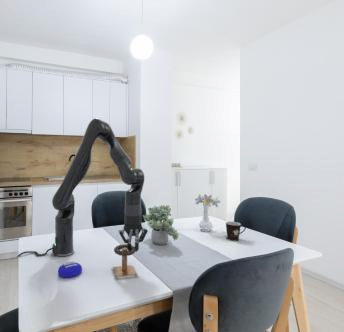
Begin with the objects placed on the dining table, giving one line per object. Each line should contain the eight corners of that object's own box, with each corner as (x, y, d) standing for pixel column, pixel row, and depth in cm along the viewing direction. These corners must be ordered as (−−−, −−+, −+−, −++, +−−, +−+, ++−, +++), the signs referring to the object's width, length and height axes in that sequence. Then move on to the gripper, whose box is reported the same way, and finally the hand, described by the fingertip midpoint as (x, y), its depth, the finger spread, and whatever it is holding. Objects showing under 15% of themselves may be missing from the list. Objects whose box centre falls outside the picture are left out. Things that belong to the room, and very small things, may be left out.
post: (116, 279, 104) (116, 253, 103) (113, 269, 113) (112, 245, 112) (136, 277, 106) (137, 251, 105) (131, 267, 114) (131, 244, 114)
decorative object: (78, 254, 113) (84, 266, 104) (79, 265, 114) (84, 278, 105) (55, 259, 109) (59, 271, 100) (56, 270, 110) (59, 284, 101)
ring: (116, 257, 103) (116, 252, 103) (112, 249, 112) (112, 244, 112) (138, 255, 105) (138, 250, 105) (132, 247, 114) (132, 242, 114)
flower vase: (222, 230, 171) (222, 194, 169) (204, 234, 161) (205, 197, 159) (206, 225, 181) (207, 192, 180) (189, 229, 171) (190, 194, 170)
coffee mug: (225, 240, 150) (225, 224, 150) (225, 236, 158) (225, 220, 158) (246, 243, 146) (247, 226, 145) (245, 238, 154) (245, 222, 153)
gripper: (145, 210, 114) (145, 247, 115) (116, 212, 111) (116, 249, 112) (150, 214, 106) (150, 253, 107) (119, 216, 103) (119, 256, 104)
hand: (132, 251), depth 109 cm, fingers closed on ring, 2 cm apart
